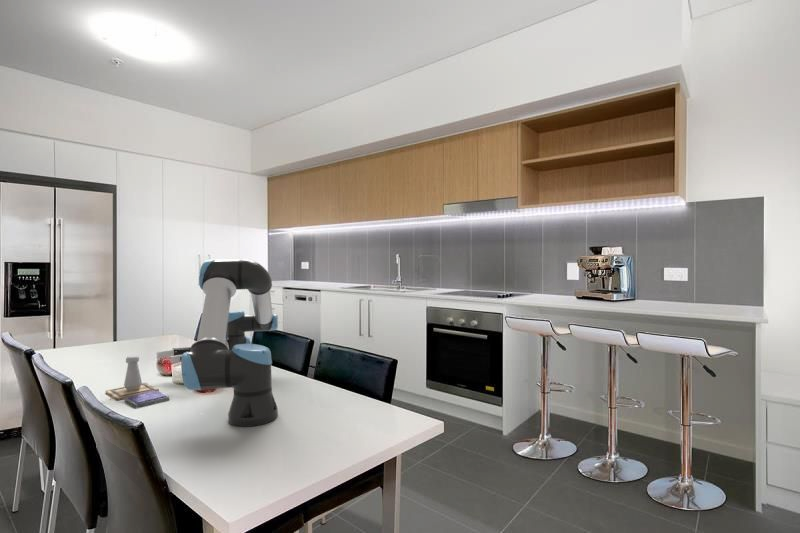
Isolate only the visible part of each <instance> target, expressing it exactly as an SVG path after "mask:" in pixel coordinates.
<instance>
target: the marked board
mask: <svg viewBox="0 0 800 533" xmlns="http://www.w3.org/2000/svg"><path fill="white" fill-rule="evenodd" d="M152 391H159V392H160V389H159V388H158V387H156V386H154V385H152V384H149V383H148V382H142V384H141V386H140V389H139V390H136V391H127V389H126V388H125V386H123V387H117V388H112V389H107V390H105V393H106V394H107V395H109V396H110V397H112V398H113V399H115V400H116V401H123V400H125V398H126V397H129V396H133V395H138V394H142V393H147V392H152Z"/></svg>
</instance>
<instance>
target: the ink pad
mask: <svg viewBox="0 0 800 533" xmlns="http://www.w3.org/2000/svg"><path fill="white" fill-rule="evenodd" d="M166 401H170V396H169V395H168V394H166V393H163V392H161V391H160V390H159V391H152V392H147V393H142V394H138V395H133V396H129V397H126V398H125V399H124V402H125V403H127V404H129V405H131V406H132V407H133V406H134V407H133V408H135V409H136V408H142V407H146V406H149V405H153V404H157V403H162V402H166Z"/></svg>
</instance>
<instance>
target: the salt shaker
mask: <svg viewBox="0 0 800 533" xmlns="http://www.w3.org/2000/svg"><path fill="white" fill-rule="evenodd" d="M139 361H140V357H139V356H138V355H130V356H127V357H126V359H125V363H126V364H127V367H126V374H125V379H124V384H123V387H125V388H126V389H127V391H136V390H139V389H140V386H141V384H142V383H143V382H142V377H141V373H140V369H139V364H138V363H139Z"/></svg>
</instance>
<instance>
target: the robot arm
mask: <svg viewBox="0 0 800 533" xmlns="http://www.w3.org/2000/svg"><path fill="white" fill-rule="evenodd" d="M198 284H199V288H200V289H201V290H202V291H203V293H204V295H205V298H204V303H203V308H202V313H201V318H200V323H199V329H198V333H197V334H198V335H197V339H196V341H195V342H193V343H192V344H191V346H187V347H186V346H185V347H173V348H172V349H168V350H167V349H166V350H161V351H157V352H156V359H157V360H159V359H163V358H170V364H171V365H172V364H179V363H180V364H181V365H180V369H181V370H180V371H181V376H182V377H181V379H182V381H183V382H182V383H183V386H184V387H185V388H186V389H187V390H190V391H193V390H198V391H202V390H214V389H228V388H233V397H232V400H231V404H230V407H229V410H228V414H227V419H228V423H229V424H230V425H232V426H237V427H255V426H256V427H257V426H261V425H264V424H268V423H270V422H273V421H274V420H276V419H277V418H278V415H279V410H278V405H277V403H276V400H275V397H274V395H273V390H272V389H273V385H272V364H273V360H272V353H271V350H270V348H269V347H267V346H264V345H261V344H255V343H252V342H251V339H250V337H249V336H247V335H245V334H246V333H247V332H271V331H277V330H278V328H279V327H278V326H279V319H278V318H279V316H278V315H277V314H276V313H273V307H272V298H271V290H272V286H273V282H272V277H271V275H270V273H269V271H267V269H266V268H265V267H264V266H263V265H261V264H260V263H258V262H257V261H254V260H251V259H247V258H243V259H242V258H239V259H238V258H237V259H235V258H233V259H230V258H229V259H226V258H223V259H222V258H214V259H207V260H205V261H203V263H202V264H201V266H200V270H199V277H198ZM237 290H248V292H249V293H250V295H251V302H252V307H253V312H254V314H245V311H244V310H231V311H230V306H231V299H232V297H234V296H235V295H236V292H237ZM245 332H246V333H245Z"/></svg>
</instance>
